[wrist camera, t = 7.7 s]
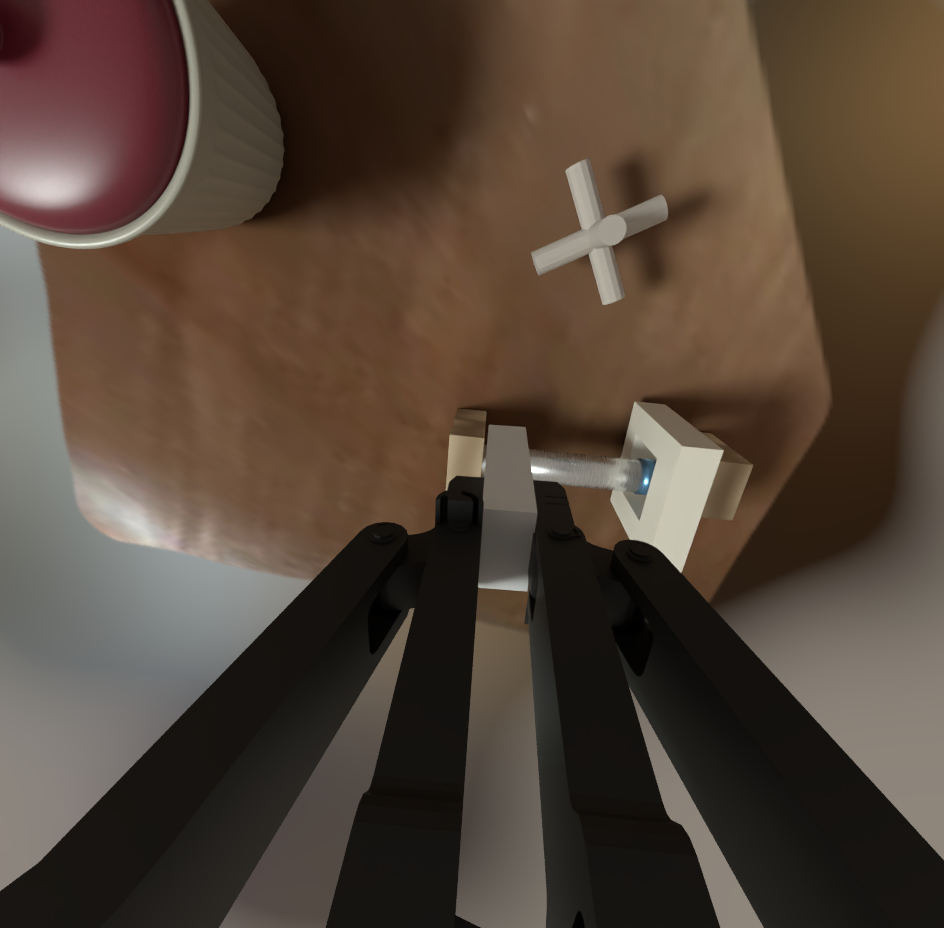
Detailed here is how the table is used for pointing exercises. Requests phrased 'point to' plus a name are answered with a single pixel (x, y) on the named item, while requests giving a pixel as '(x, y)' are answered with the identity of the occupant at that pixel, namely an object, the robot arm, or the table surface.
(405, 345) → the table surface
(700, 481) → the collar
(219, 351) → the table surface
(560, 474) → the steel rod
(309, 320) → the table surface
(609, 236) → the pipe connector
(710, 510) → the rod support stand
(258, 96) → the canister
